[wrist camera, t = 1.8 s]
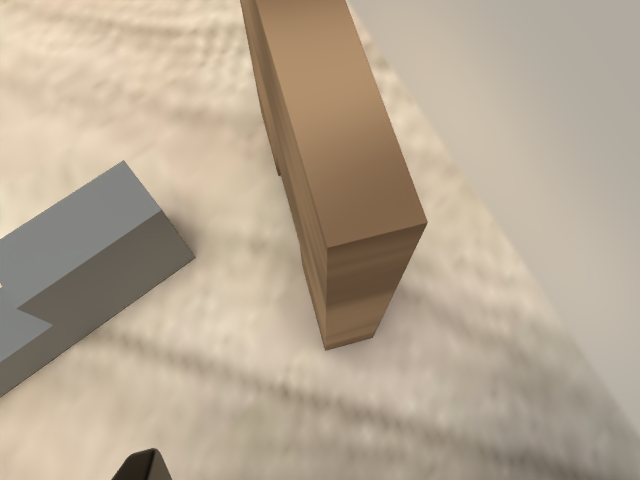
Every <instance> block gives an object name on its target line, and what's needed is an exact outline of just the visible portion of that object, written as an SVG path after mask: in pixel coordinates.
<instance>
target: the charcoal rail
mask: <svg viewBox="0 0 640 480" xmlns="http://www.w3.org/2000/svg"><path fill="white" fill-rule="evenodd" d="M194 258H195V257H194V255H193V254H192V252H191V251H190V250H189V248H188V247H187V245H186V244H185V242H184V241H183V240H182V238H181V237H180V235H179V234H178V232H177V231H176V230H175V228H174V227H173V225H172V224H171V222H170V221H169V220H168V218H167V217H166V215H165V214H164V212H163V211H162V210H161V208H160V207H159V206H158V204H157V203H156V202H155V200H154V199H153V198H152V197H151V195H150V194H149V193H148V191H147V190H146V189H145V187H144V186H143V185H142V183H141V182H140V181H139V179H138V178H137V177H136V176H135V174H134V173H133V172H132V170H131V169H130V168H129V166H128V165H127V164H126V162H125V161H124V160H123V161H122V162H120V163H119V164H117V165H115V166H114V167H112V168H111V169H109V170H108V171H106V172H105V173H103V174H101V175H100V176H98V177H97V178H95V179H94V180H92V181H90V182H89V183H87V184H86V185H84V186H83V187H81V188H80V189H78V190H76V191H75V192H73V193H72V194H70V195H69V196H67V197H66V198H64V199H62V200H61V201H59V202H58V203H56V204H55V205H53V206H51V207H50V208H48V209H47V210H45V211H44V212H42V213H41V214H39V215H37V216H36V217H34V218H33V219H31V220H30V221H28V222H27V223H25V224H23V225H22V226H20V227H19V228H17V229H16V230H14V231H13V232H11V233H9V234H8V235H6V236H5V237H3V238H2V239H0V283H1V285H2V286H3V287H2V288H0V397H1V396H3V395H4V394H5V393H7V392H8V391H9V390H11V389H12V388H14V387H15V386H16V385H18V384H19V383H21V382H22V381H23V380H25V379H26V378H28V377H29V376H30V375H32V374H33V373H35V372H36V371H37V370H39V369H40V368H42V367H43V366H44V365H46V364H47V363H49V362H50V361H51V360H53V359H54V358H56V357H57V356H58V355H60V354H61V353H63V352H64V351H65V350H67V349H68V348H70V347H71V346H72V345H74V344H75V343H77V342H78V341H79V340H81V339H82V338H84V337H85V336H86V335H88V334H89V333H91V332H92V331H93V330H95V329H96V328H98V327H99V326H100V325H102V324H103V323H105V322H106V321H107V320H109V319H110V318H112V317H113V316H114V315H116V314H117V313H119V312H120V311H121V310H123V309H124V308H126V307H127V306H128V305H130V304H131V303H133V302H134V301H135V300H137V299H138V298H140V297H141V296H142V295H144V294H145V293H147V292H148V291H149V290H151V289H152V288H153V287H155V286H156V285H158V284H159V283H160V282H162V281H163V280H165V279H166V278H167V277H169V276H170V275H172V274H173V273H174V272H176V271H177V270H179V269H180V268H181V267H183V266H184V265H186V264H187V263H188V262H190V261H191V260H193V259H194Z"/></svg>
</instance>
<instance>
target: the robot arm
mask: <svg viewBox="0 0 640 480" xmlns="http://www.w3.org/2000/svg"><path fill="white" fill-rule="evenodd" d="M112 480H172V478H171V476H170V474H169V471H168V469H167V467H166V464H165V462H164V460H163V458H162V455H161V453H160V452H159V451H158V450H157V449H155V448H151V449H147V450H144V451H140V452H137V453H133V454H131V455H130V456H129V457H128V458H127V459H126V460H125V462H124V463H123V464H122V466H121V467H120V469H119V470H118V471H117V473H116V474H115V475H114V477H113V478H112Z"/></svg>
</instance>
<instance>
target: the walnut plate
mask: <svg viewBox="0 0 640 480" xmlns="http://www.w3.org/2000/svg"><path fill="white" fill-rule="evenodd" d="M240 2H241V7H242V12H243V18H244V23H245V28H246V34H247V39H248V44H249V50H250V55H251V60H252V65H253V71H254V76H255V81H256V87H257V92H258V97H259V103H260V108H261V112H262V116H263V120H264V123H265V127H266V131H267V135H268V138H269V142H270V146H271V150H272V153H273V157H274V161H275V164H276V168H277V172H278V176H280V175H281V176H282V180H283V184H284V187H285V191H286V195H287V198H288V202H289V206H290V210H291V213H292V217H293V221H294V224H295V228H296V232H297V236H298V239H299V243H300V249H301V257H302V265H303V269H304V273H305V277H306V280H307V284H308V288H309V292H310V295H311V299H312V303H313V307H314V310H315V314H316V318H317V322H318V325H319V329H320V333H321V337H322V340H323V344H324V348H325V350H329V349H333V348H336V347H340V346H344V345H347V344H351V343H355V342H358V341H362V340H366V339H370V338H373V336H374V334H375V331H376V329H377V327H378V325H379V323H380V321H381V319H382V317H383V315H384V313H385V311H386V309H387V306H388V304H389V302H390V300H391V298H392V296H393V294H394V292H395V290H396V288H397V286H398V283H399V281H400V279H401V277H402V275H403V273H404V271H405V269H406V267H407V265H408V263H409V261H410V258H411V256H412V254H413V252H414V250H415V248H416V246H417V244H418V242H419V240H420V238H421V235H422V233H423V231H424V229H425V227H426V225H427V223H428V222H427V219H426V217H425V214H424V211H423V208H422V206H421V203H420V200H419V198H418V195H417V192H416V190H415V187H414V184H413V181H412V179H411V176H410V173H409V171H408V168H407V165H406V163H405V160H404V157H403V155H402V152H401V149H400V146H399V144H398V141H397V138H396V136H395V133H394V130H393V128H392V125H391V122H390V119H389V117H388V114H387V111H386V109H385V106H384V103H383V101H382V98H381V95H380V93H379V90H378V87H377V84H376V82H375V79H374V76H373V74H372V71H371V68H370V66H369V63H368V60H367V57H366V55H365V52H364V49H363V47H362V44H361V41H360V39H359V36H358V33H357V31H356V28H355V25H354V22H353V20H352V17H351V14H350V12H349V9H348V6H347V4H346V1H345V0H240Z"/></svg>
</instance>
